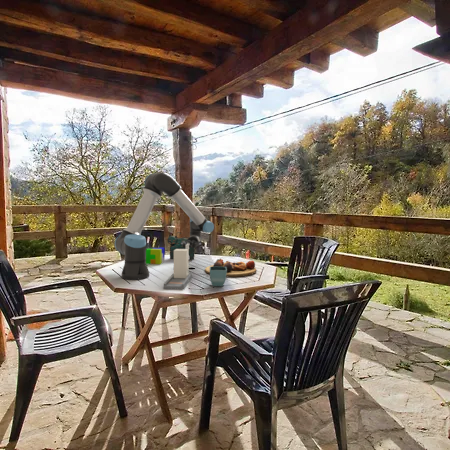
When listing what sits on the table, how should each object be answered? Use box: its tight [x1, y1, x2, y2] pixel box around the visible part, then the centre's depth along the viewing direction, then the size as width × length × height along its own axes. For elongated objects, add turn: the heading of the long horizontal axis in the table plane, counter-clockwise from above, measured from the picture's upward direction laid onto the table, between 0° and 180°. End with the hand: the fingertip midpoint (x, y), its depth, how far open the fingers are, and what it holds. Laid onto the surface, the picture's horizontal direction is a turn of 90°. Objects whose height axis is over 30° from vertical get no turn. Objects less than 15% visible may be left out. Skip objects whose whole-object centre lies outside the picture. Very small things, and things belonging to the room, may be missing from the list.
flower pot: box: [209, 267, 227, 287], centre depth 164 cm, size 9×9×9 cm
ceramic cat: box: [167, 231, 196, 261], centre depth 234 cm, size 20×6×20 cm, turn 83°
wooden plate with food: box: [204, 258, 257, 278], centre depth 197 cm, size 32×32×8 cm
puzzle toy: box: [146, 246, 166, 265], centre depth 219 cm, size 10×10×10 cm
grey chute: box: [163, 272, 193, 290], centre depth 168 cm, size 10×24×3 cm, turn 176°
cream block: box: [173, 249, 190, 278], centre depth 173 cm, size 7×6×15 cm
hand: (186, 247), depth 184 cm, fingers closed
